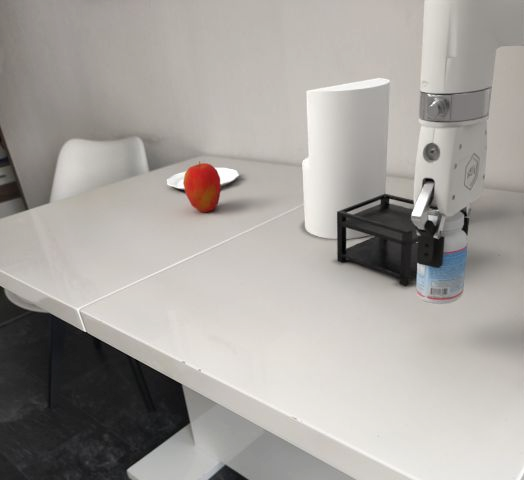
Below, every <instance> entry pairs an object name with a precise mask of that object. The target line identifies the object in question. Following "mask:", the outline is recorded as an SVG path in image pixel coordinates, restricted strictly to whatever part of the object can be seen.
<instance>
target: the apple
mask: <svg viewBox="0 0 524 480" xmlns="http://www.w3.org/2000/svg"><path fill="white" fill-rule="evenodd" d="M215 168H216V167H214V166H213V165H212V164H210V163H205V162H203V163H201V161H199V163H198V164H195V165H192V166H190V167H189V168H187V170H186V173H185V176H184V182H183V184H184V188H185V190H184V192H185V195H186V197H187V200H188V202H189V203H190V205H191V207H193V208H194V209H195V210H198V211H199V212H201V213H208V212H212V211H214V209H215V208H216V206H217V205H218V204H219V201H220V197H221V193H222V192H221V191H222V189H221V188H222V186H220V176H219V174H218V172H217V170H216V169H215Z"/></svg>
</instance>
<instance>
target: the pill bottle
mask: <svg viewBox="0 0 524 480" xmlns="http://www.w3.org/2000/svg"><path fill="white" fill-rule="evenodd" d="M435 211H439V210H435ZM437 217H438V216H432V215H428V219H429V220H431V221H432V222H433V223H434V225H435V226H436V222H437ZM463 225H464V214H463V213H462V212H460V211H459V212H457V213H456V214H454V215H453V216H446V219H445V223H444V227H443V231H442V235H441V236H443V237H445V239H444V251H443V263H442V266H441V267H440V268H435V267H431V266H426V265H421V264H418V263H417V274H416V289H415V291H416V295H417V297H418V298H419V299H420V300H422V301H424V302H426V303H429V304H433V305H447V304H452V303H454V302H456V301H458V300H459V299H460V298H461V297H462V296H463V294H464V286H465V284H464V283H465V275H466V264H467V255H468V246H469V245H468V243H469V238H468V236H467V235H466V233H465V232H464V231H463V230H461V229H462V227H463Z"/></svg>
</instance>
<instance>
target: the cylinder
mask: <svg viewBox="0 0 524 480" xmlns="http://www.w3.org/2000/svg"><path fill="white" fill-rule="evenodd" d="M390 88H391V80H390V79H387V78H383V77H375V78H371V79H366V80H359V81H354V82H347V83H343V84H337V85H330V86H324V87H319V88H314V89H309V90H305V92H306V93H305V95H306V96H305V97H306V121H307V122H306V123H307V146H308V149H307V151H308V156H307V157H305V158H304V159H303V160H302V162H301V168H302V189H303V190H302V191H303V192H302V193H303V194H302V195H303V211H304V212H303V214H304V217H303V218H304V229H305V230H306V232H308V233H309V234H310V235H312V236H316V237H318V238H324V239H329V240H330V239H331V240H332V239H333V240H337V211H340V210H343V209H345V208H348V207H351V206H353V205H356V204H359V203H361V202H364V201H367V200H369V199H372V198H375V197H377V196H380V195H383V194H387V193H386V192H387V191H386V190H387V189H386V188H387V165H388V164H387V163H388V140H389V118H390V117H389V115H390V114H389V113H390V91H391V90H390ZM379 204H381V200H378V201H375V202H373V203H370V204H367V205H365V206H362V207H360V208H357V209H354V210H352V211H349V212H346V213H349V214H352V215H353V214H356V213H358V212H361V211H363V210H366V209H369V208H371V207H374V206H376V205H379ZM368 236H370V235H369V234H366V233H362V232H359V231H356V230H353V229H349V228H346V240H350V239H351V240H353V239H358V238H363V237H368Z"/></svg>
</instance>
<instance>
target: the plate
mask: <svg viewBox="0 0 524 480" xmlns="http://www.w3.org/2000/svg"><path fill="white" fill-rule="evenodd" d="M214 168H215V169H216V170H217V172H218V174H219V176H220V186H221V187H224V186H226V185H228V184H230V183H232V182H234V181H235V180H236V179H237V178H239V177H240V173H239V172H238V170H237V169H232V168H228V167H214ZM186 171H187V170H186ZM186 171H182V172H178V173H176V174H172V176H170V177H168V178H167V179H166V185H167V186H168V187H171V188H175V189H178V190H181V191H185V188H184V184H183V182H184V176H185V173H186Z"/></svg>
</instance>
